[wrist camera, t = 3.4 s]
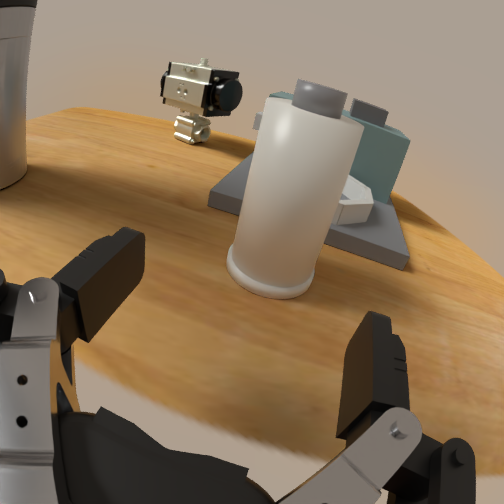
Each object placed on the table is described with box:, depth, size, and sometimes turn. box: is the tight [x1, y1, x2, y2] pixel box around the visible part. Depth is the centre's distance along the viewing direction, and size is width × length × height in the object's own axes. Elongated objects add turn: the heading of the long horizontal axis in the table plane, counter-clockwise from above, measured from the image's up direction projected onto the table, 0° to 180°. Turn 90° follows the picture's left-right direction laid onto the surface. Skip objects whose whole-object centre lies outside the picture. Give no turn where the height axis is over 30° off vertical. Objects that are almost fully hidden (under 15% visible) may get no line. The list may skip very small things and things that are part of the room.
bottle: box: [226, 79, 364, 299], centre depth 19 cm, size 6×6×12 cm
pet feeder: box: [208, 92, 410, 270], centre depth 32 cm, size 19×19×12 cm
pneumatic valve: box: [160, 58, 242, 144], centre depth 40 cm, size 6×12×12 cm, turn 53°
